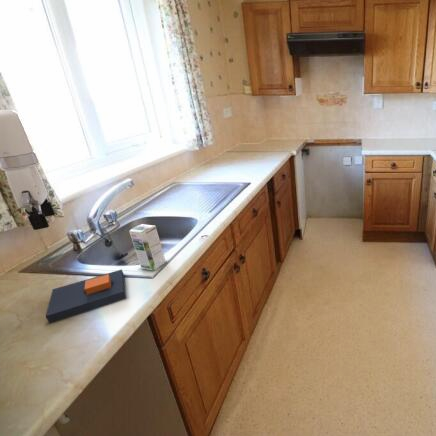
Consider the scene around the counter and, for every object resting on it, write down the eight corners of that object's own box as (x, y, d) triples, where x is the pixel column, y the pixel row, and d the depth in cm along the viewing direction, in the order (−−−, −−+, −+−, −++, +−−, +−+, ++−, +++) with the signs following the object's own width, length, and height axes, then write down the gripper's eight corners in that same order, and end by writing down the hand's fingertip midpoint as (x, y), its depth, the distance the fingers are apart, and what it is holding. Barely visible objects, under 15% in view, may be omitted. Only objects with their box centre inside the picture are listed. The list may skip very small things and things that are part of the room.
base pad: (49, 323, 86) (45, 316, 85) (55, 295, 97) (52, 289, 96) (126, 298, 94) (123, 291, 93) (124, 275, 105) (121, 269, 104)
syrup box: (140, 269, 108) (127, 230, 102) (153, 259, 113) (142, 222, 107) (154, 271, 107) (141, 232, 101) (167, 261, 112) (155, 224, 106)
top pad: (89, 301, 93) (84, 289, 92) (90, 292, 97) (85, 280, 95) (113, 294, 96) (108, 282, 94) (113, 285, 100) (108, 273, 98)
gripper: (8, 157, 87) (34, 214, 94) (-13, 171, 73) (19, 237, 80) (43, 152, 90) (65, 209, 97) (29, 165, 77) (57, 230, 84)
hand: (45, 221), depth 89 cm, fingers open, 9 cm apart
